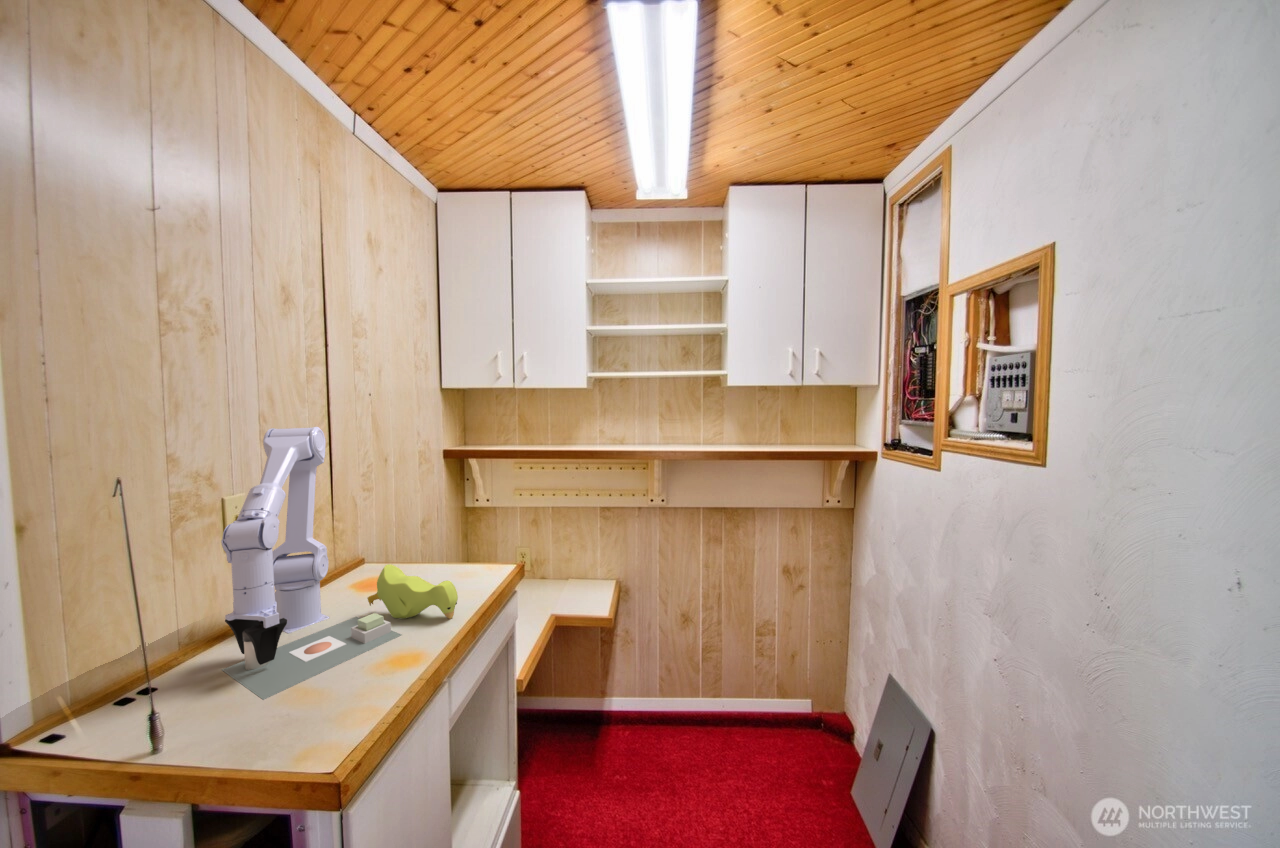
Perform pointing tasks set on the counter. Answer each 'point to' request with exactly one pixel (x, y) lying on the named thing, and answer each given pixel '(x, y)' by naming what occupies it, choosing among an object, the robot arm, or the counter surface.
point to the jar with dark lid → (250, 654)
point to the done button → (370, 622)
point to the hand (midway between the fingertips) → (257, 656)
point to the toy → (412, 594)
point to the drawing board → (310, 656)
